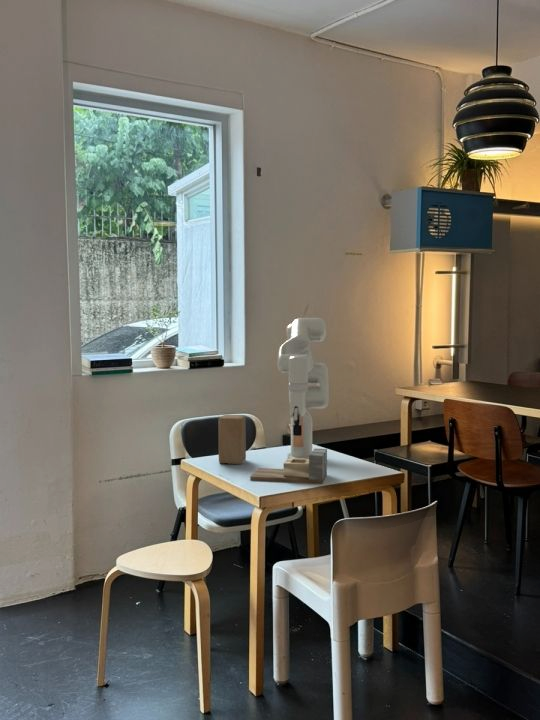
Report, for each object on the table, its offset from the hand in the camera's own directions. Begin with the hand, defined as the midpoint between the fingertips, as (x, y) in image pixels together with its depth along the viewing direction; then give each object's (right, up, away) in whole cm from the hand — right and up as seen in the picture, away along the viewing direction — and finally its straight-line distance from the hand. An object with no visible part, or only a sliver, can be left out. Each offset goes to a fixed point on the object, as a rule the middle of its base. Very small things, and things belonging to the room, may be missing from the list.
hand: (298, 433), depth 269 cm
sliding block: (0, -16, +2) cm, 16 cm away
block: (-27, -15, +30) cm, 43 cm away
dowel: (0, -5, 0) cm, 5 cm away
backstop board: (-4, -17, +2) cm, 18 cm away
